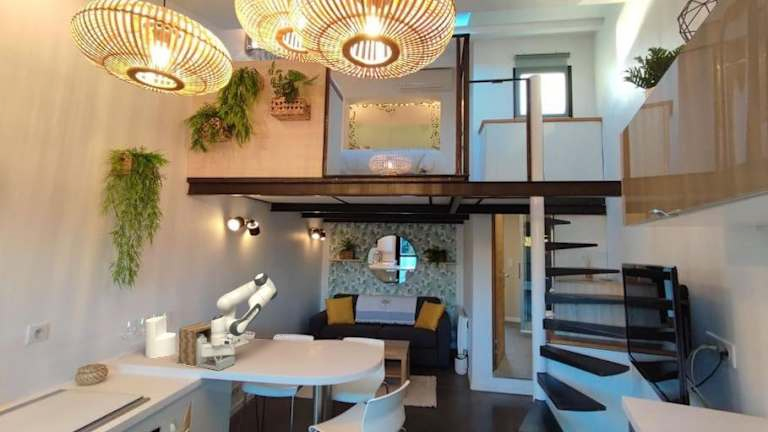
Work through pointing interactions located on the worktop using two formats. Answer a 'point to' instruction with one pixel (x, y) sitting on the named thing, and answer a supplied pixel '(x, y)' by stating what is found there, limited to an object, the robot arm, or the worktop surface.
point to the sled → (219, 363)
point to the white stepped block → (159, 338)
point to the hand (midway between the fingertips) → (218, 362)
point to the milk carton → (199, 340)
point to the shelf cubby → (191, 342)
